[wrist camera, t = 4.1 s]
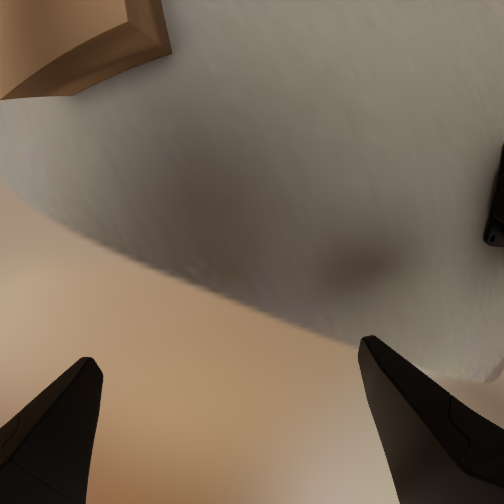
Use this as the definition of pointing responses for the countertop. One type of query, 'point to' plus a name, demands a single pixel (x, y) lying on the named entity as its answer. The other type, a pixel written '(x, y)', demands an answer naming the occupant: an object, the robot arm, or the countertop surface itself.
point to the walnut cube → (75, 43)
